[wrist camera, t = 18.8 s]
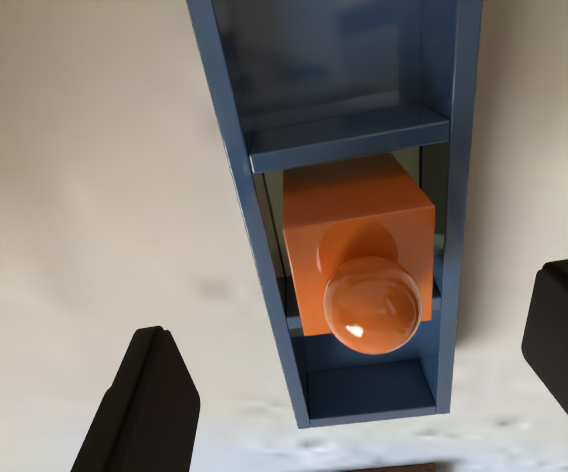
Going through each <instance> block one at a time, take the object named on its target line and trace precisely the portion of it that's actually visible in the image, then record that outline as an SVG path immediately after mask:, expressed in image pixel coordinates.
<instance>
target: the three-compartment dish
mask: <svg viewBox="0 0 568 472" xmlns="http://www.w3.org/2000/svg"><path fill="white" fill-rule="evenodd" d="M186 3H187V7H188V11H189V15H190V18H191V22H192V26H193V30H194V34H195V37H196V41H197V45H198V49H199V53H200V56H201V60H202V64H203V68H204V72H205V75H206V79H207V83H208V87H209V91H210V95H211V98H212V102H213V106H214V110H215V114H216V117H217V121H218V125H219V129H220V133H221V136H222V140H223V144H224V148H225V152H226V155H227V159H228V163H229V167H230V171H231V175H232V178H233V182H234V186H235V190H236V194H237V197H238V201H239V205H240V209H241V213H242V216H243V220H244V224H245V228H246V232H247V235H248V239H249V243H250V247H251V251H252V255H253V258H254V262H255V266H256V270H257V274H258V277H259V281H260V285H261V289H262V293H263V296H264V300H265V304H266V308H267V312H268V315H269V319H270V323H271V327H272V331H273V335H274V338H275V342H276V346H277V350H278V354H279V357H280V361H281V365H282V369H283V373H284V376H285V380H286V384H287V388H288V392H289V396H290V399H291V403H292V407H293V411H294V415H295V418H296V422H297V426H298V429H304V428H311V427H322V426H332V425H341V424H351V423H360V422H370V421H379V420H388V419H398V418H407V417H417V416H426V415H435V414H445V413H450V402H451V389H452V377H453V364H454V352H455V339H456V327H457V315H458V302H459V290H460V277H461V265H462V252H463V240H464V228H465V215H466V203H467V190H468V178H469V165H470V153H471V140H472V128H473V116H474V103H475V91H476V78H477V66H478V53H479V41H480V29H481V16H482V4H483V0H186ZM384 153H392V154H393V156H394V157H395V158H396V159H397V160H398V162H399V163H400V164H401V165H402V166H403V168H404V169H405V170H406V171H407V172H408V174H409V175H410V176H411V177H412V178H413V180H414V181H415V182H416V183H417V185H418V186H419V187H420V188H421V189H422V191H423V192H424V193H425V194H426V195H427V197H428V198H429V199H430V200H431V201H432V203H433V204H434V205H435V232H434V261H433V291H432V319H431V320H428V321H421V322H420V325H419V327H418V329H417V331H416V333H415V334H414V336H413V337H412V338H411V339H410V340H409V341H408V342H407V343H406V344H405V345H404V346H402V347H401V348H399V349H397V350H395V351H393V352H390V353H386V354H381V355H368V354H363V353H359V352H356V351H354V350H351V349H350V348H348V347H346V346H345V345H343V344H342V343H341V342H340V341H339V340H338V339H337V338H336V337H335V336H334V335H333V334H332V333H327V334H319V335H311V336H305V335H304V332H303V327H302V322H301V317H300V312H299V308H298V303H297V298H296V293H295V288H294V283H293V278H292V273H291V269H290V264H289V259H288V254H287V249H286V244H285V239H284V234H283V171H284V170H289V169H295V168H301V167H307V166H313V165H319V164H325V163H331V162H337V161H343V160H348V159H354V158H360V157H366V156H372V155H378V154H384Z"/></svg>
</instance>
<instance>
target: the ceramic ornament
mask: <svg viewBox="0 0 568 472" xmlns="http://www.w3.org/2000/svg"><path fill="white" fill-rule="evenodd" d="M434 232H435V205H434V204H433V203H432V201H431V200H430V199H429V198H428V197H427V195H426V194H425V193H424V192H423V191H422V189H421V188H420V187H419V186H418V185H417V183H416V182H415V181H414V180H413V178H412V177H411V176H410V175H409V174H408V172H407V171H406V170H405V169H404V168H403V166H402V165H401V164H400V163H399V162H398V160H397V159H396V158H395V157H394V156H393V154H392V153H384V154H378V155H372V156H366V157H360V158H354V159H348V160H343V161H337V162H331V163H325V164H319V165H313V166H307V167H301V168H295V169H289V170H284V171H283V234H284V239H285V244H286V249H287V254H288V259H289V264H290V269H291V273H292V278H293V283H294V288H295V293H296V298H297V303H298V308H299V312H300V317H301V322H302V327H303V332H304V335H305V336H311V335H319V334H327V333H332V334H333V335H334V336H335V337H336V338H337V339H338V340H339V341H340V342H341V343H342V344H343V345H345V346H346V347H348V348H350V349H351V350H354V351H356V352H359V353H363V354H368V355H381V354H386V353H390V352H393V351H395V350H397V349H399V348H401V347H402V346H404V345H405V344H406V343H407V342H408V341H409V340H410V339H411V338H412V337H413V336H414V334H415V333H416V331H417V329H418V327H419V325H420V322H421V321H428V320H431V319H432V291H433V261H434Z"/></svg>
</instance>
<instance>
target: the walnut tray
mask: <svg viewBox="0 0 568 472" xmlns="http://www.w3.org/2000/svg"><path fill="white" fill-rule="evenodd" d="M348 472H436V470H435V466H434V464H422V465H412V466H401V467H391V468H380V469H369V470H359V471H348Z"/></svg>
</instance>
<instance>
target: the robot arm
mask: <svg viewBox="0 0 568 472" xmlns="http://www.w3.org/2000/svg"><path fill="white" fill-rule="evenodd" d="M521 348H522V353H523V356H524V358H525V360H526V361H527V362H528V364H529V365H530V366H531V368H532V369H533V370H534V372H535V373H536V374H537V375H538V377H539V378H540V379H541V381H542V382H543V383H544V384H545V386H546V387H547V388H548V390H549V391H550V392H551V394H552V395H553V396H554V397H555V399H556V400H557V401H558V403H559V404H560V405H561V407H562V408H563V409H564V410H565V412H566V413H567V414H568V259H566V260H560V261H554V262H548V263H545V264H544V265H543V268H542V270H539V271H538V272H537V274H536V279H535V284H534V288H533V293H532V298H531V303H530V307H529V312H528V317H527V322H526V326H525V331H524V336H523V340H522V346H521ZM199 412H200V397H199V394H198V391H197V389H196V387H195V385H194V383H193V381H192V378H191V376H190V374H189V372H188V370H187V367H186V365H185V363H184V361H183V359H182V356H181V354H180V352H179V350H178V348H177V345H176V343H175V341H174V339H173V337H172V335H171V333H170V331H169V330H165V331H164V329H163V328H162V327H161V326H154V327H148V328H142V329H138V330H136V331H135V333H134V335H133V337H132V340H131V342H130V344H129V347H128V349H127V351H126V354H125V356H124V358H123V360H122V363H121V365H120V367H119V370H118V372H117V374H116V377H115V379H114V381H113V384H112V386H111V387H110V388H109V389H108V390H107V391H106V393H105V395H104V397H103V399H102V401H101V403H100V406H99V408H98V410H97V412H96V415H95V417H94V419H93V422H92V424H91V426H90V428H89V431H88V433H87V435H86V437H85V440H84V442H83V444H82V446H81V449H80V451H79V453H78V455H77V458H76V460H75V462H74V464H73V467H72V469H71V471H70V472H189V469H190V463H191V458H192V452H193V446H194V441H195V435H196V429H197V424H198V418H199Z"/></svg>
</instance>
